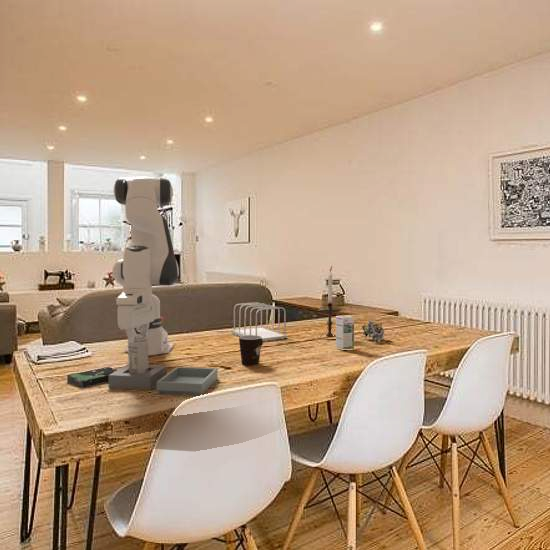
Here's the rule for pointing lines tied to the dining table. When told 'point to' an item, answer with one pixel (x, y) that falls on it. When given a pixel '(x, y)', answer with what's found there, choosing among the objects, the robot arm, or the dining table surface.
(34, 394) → the dining table surface
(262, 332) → the file sorter
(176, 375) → the parts tray
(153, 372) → the socket block
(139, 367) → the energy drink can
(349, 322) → the syrup box
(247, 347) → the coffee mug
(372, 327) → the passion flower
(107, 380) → the disk drive
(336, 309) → the candlestick
